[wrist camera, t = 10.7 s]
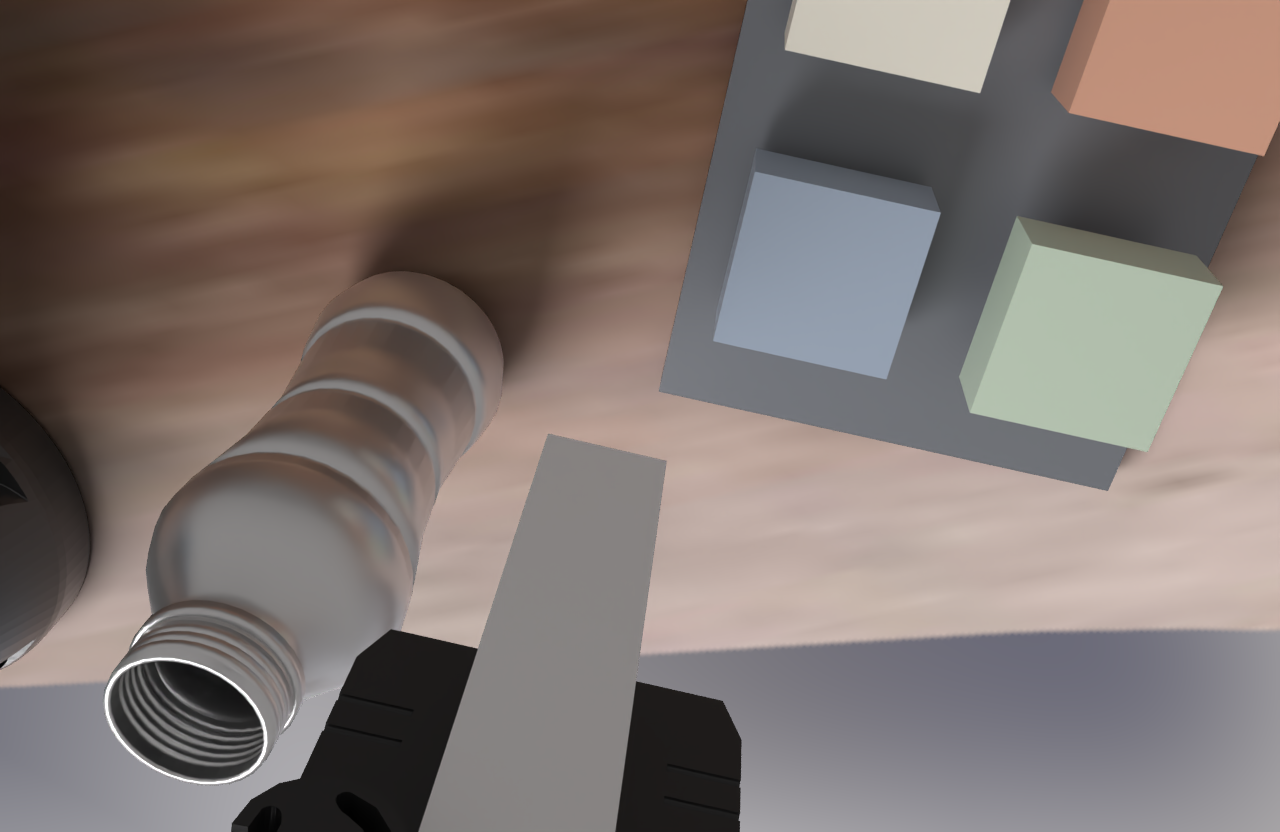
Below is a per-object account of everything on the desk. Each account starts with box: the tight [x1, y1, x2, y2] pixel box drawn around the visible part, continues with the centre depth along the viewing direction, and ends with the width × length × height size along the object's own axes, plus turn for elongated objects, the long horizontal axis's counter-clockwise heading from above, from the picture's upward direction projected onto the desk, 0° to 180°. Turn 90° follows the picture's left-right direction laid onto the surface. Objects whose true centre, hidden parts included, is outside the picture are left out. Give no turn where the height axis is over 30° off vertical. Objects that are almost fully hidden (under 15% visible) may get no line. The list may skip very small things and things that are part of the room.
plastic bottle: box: [103, 271, 504, 785], centre depth 35 cm, size 6×7×20 cm
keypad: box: [659, 0, 1258, 491], centre depth 37 cm, size 16×22×3 cm
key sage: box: [959, 216, 1223, 452], centre depth 37 cm, size 6×6×2 cm
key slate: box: [713, 148, 941, 379], centre depth 38 cm, size 6×6×2 cm
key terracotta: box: [1051, 0, 1280, 156], centre depth 33 cm, size 6×6×2 cm
